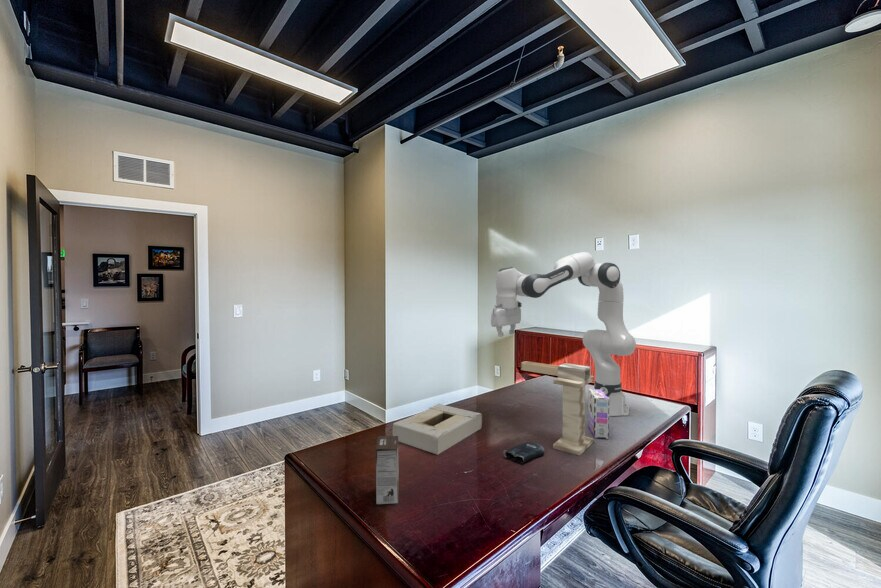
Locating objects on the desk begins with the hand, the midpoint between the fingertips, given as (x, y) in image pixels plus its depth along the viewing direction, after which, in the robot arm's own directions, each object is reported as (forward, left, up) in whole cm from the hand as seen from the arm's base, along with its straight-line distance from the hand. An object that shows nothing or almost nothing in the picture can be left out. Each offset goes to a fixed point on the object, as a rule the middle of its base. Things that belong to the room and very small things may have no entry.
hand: (506, 335), depth 170 cm
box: (+29, -15, -40) cm, 51 cm away
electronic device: (+23, +22, -40) cm, 51 cm away
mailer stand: (+4, +32, -39) cm, 51 cm away
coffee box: (+73, +3, -39) cm, 83 cm away
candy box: (-15, +35, -39) cm, 55 cm away
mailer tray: (+4, +19, -13) cm, 23 cm away
